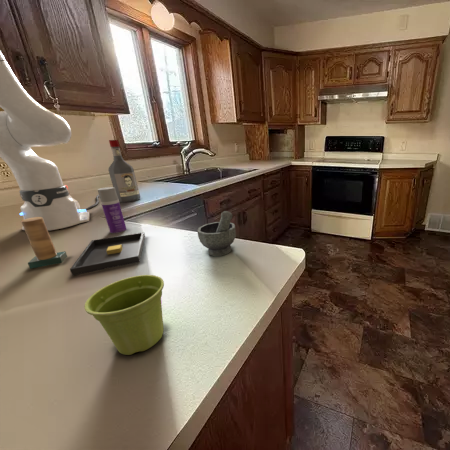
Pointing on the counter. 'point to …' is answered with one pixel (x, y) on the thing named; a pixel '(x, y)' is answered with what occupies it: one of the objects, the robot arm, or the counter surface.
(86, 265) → the pan
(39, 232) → the brush
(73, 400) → the counter surface
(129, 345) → the plant pot
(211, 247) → the mortar and pestle
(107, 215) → the container
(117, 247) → the block
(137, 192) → the liquor
